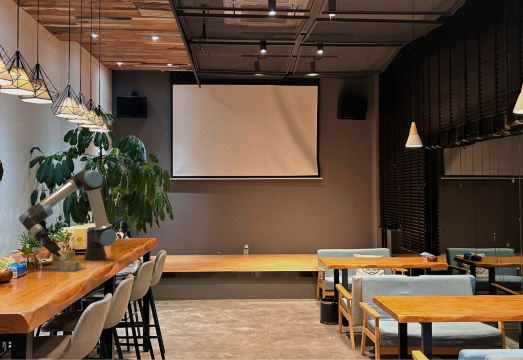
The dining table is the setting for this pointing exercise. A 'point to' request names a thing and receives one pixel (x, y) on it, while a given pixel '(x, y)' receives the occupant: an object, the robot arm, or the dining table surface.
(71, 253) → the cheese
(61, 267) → the block
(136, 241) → the dining table surface
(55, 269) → the mat
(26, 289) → the dining table surface
